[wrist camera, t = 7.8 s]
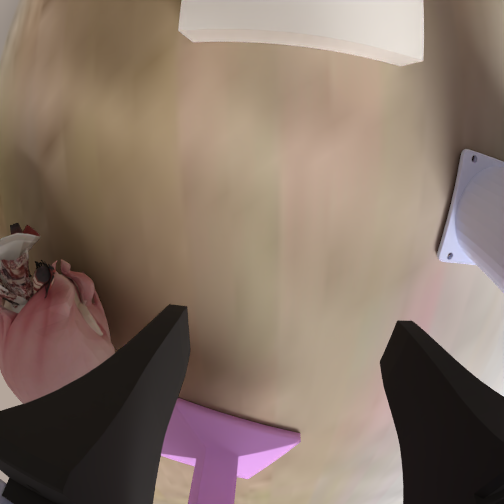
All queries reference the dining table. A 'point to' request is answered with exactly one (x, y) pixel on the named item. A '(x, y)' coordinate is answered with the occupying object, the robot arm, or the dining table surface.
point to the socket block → (313, 25)
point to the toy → (46, 321)
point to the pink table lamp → (221, 449)
